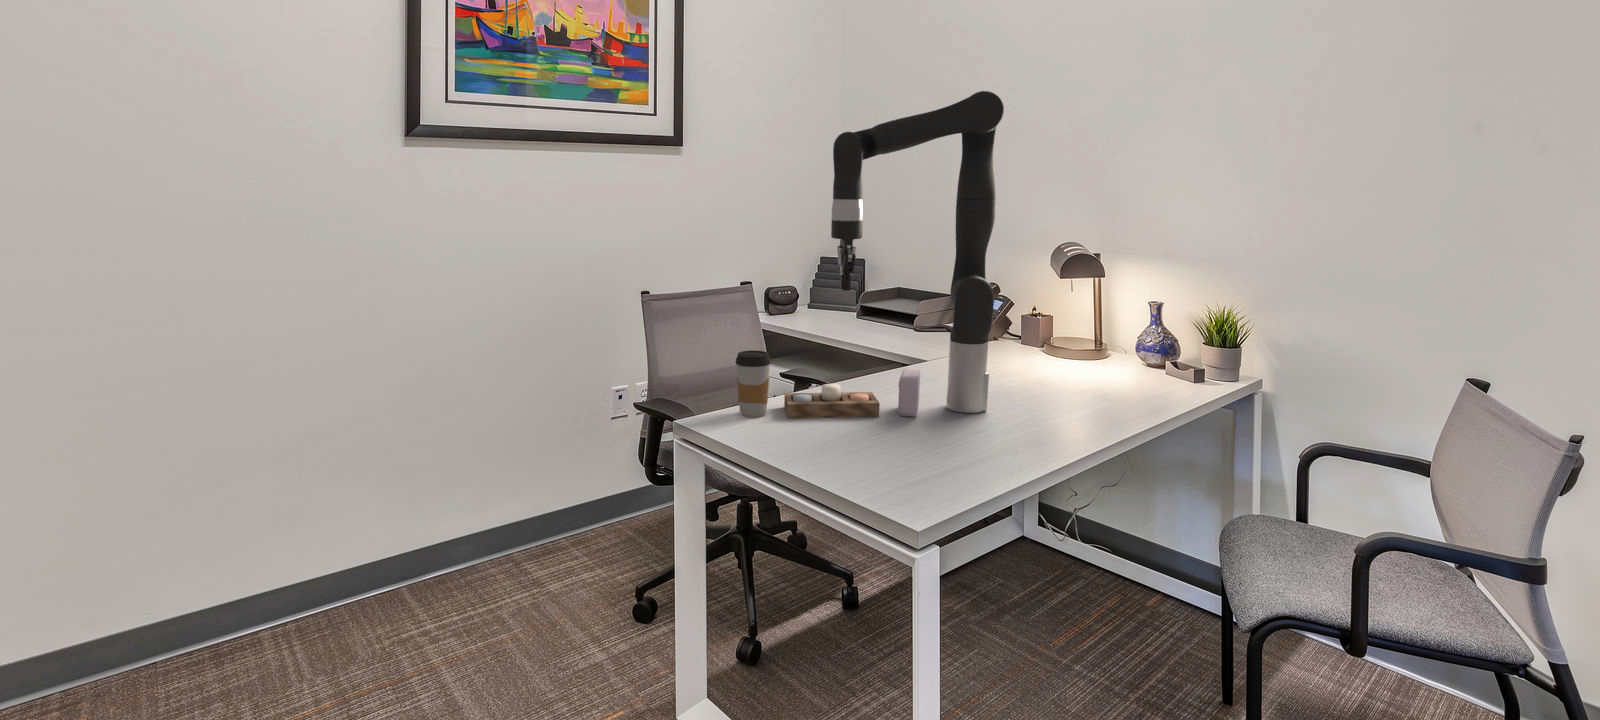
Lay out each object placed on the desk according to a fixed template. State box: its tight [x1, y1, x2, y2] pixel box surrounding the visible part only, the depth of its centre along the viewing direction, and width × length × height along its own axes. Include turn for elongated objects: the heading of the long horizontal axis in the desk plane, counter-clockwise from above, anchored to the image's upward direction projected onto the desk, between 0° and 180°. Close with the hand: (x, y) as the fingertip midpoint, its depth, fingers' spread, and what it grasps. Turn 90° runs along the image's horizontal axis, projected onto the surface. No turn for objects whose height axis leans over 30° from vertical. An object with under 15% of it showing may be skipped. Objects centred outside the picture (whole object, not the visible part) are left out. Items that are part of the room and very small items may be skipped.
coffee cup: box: [735, 349, 771, 419], centre depth 188 cm, size 8×8×15 cm
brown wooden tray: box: [783, 391, 881, 420], centre depth 192 cm, size 22×10×4 cm, turn 96°
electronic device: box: [897, 368, 921, 418], centre depth 192 cm, size 10×5×10 cm, turn 168°
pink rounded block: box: [850, 393, 869, 401], centre depth 192 cm, size 5×5×3 cm
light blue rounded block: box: [793, 394, 812, 402], centre depth 191 cm, size 5×5×3 cm
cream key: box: [821, 383, 842, 401], centre depth 191 cm, size 5×5×3 cm
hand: (845, 290), depth 193 cm, fingers closed
